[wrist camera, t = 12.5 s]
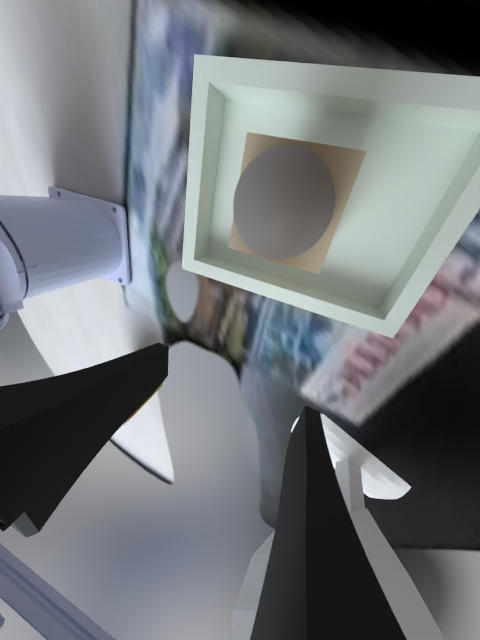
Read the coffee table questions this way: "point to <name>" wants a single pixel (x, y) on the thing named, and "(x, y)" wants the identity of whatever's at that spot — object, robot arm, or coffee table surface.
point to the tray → (369, 188)
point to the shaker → (291, 199)
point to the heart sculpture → (376, 482)
